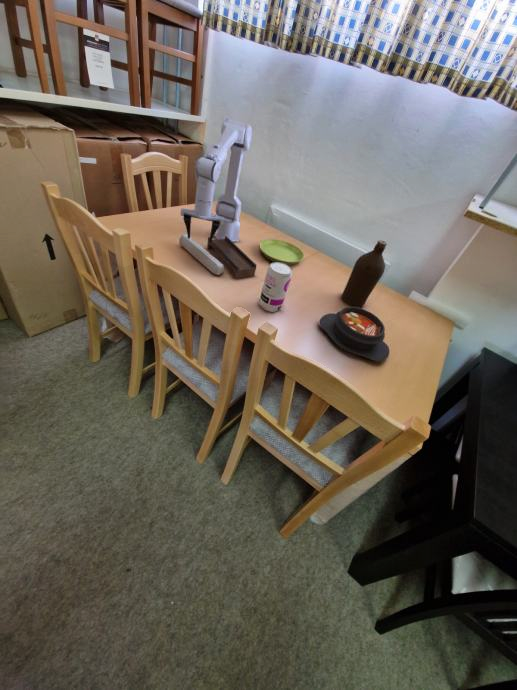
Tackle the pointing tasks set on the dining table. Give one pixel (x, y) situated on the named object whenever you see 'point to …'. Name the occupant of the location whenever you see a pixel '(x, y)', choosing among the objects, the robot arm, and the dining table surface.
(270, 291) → the supplement can
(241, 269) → the dark brown tray
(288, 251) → the saucer
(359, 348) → the casserole
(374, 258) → the olive oil
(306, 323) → the dining table surface
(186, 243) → the grey octagonal prism
